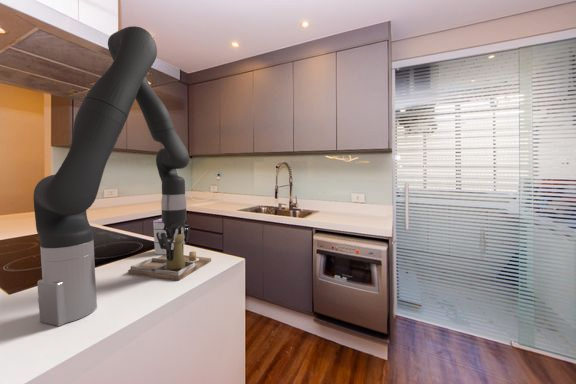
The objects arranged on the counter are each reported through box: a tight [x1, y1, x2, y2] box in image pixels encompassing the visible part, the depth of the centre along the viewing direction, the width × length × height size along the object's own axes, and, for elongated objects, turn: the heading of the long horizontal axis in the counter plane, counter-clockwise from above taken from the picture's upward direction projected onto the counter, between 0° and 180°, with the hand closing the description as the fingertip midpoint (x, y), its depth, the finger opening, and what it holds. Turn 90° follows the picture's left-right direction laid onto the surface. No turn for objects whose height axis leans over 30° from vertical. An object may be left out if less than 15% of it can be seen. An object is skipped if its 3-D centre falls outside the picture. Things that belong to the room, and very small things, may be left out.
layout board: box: [127, 251, 212, 281], centre depth 87 cm, size 18×20×4 cm
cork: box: [166, 234, 185, 269], centre depth 81 cm, size 6×6×11 cm
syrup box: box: [152, 218, 166, 255], centre depth 103 cm, size 6×6×14 cm
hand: (175, 257), depth 82 cm, fingers closed on cork, 4 cm apart
